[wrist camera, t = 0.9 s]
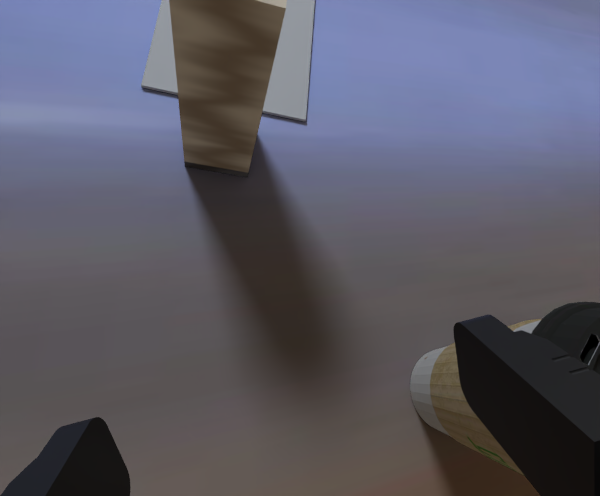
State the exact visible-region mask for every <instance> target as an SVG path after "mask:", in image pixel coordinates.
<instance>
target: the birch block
mask: <svg viewBox="0 0 600 496" xmlns="http://www.w3.org/2000/svg"><path fill="white" fill-rule="evenodd" d="M169 4H170V15H171V25H172V36H173V46H174V57H175V67H176V78H177V88H178V98H179V109H180V119H181V130H182V140H183V151H184V161H185V167H191V168H197V169H202V170H208V171H214V172H220V173H225V174H231V175H237V176H243V177H248V172H249V168H250V163H251V159H252V155H253V150H254V146H255V142H256V137H257V133H258V128H259V124H260V120H261V115H262V111H263V107H264V102H265V98H266V94H267V89H268V85H269V80H270V76H271V72H272V67H273V63H274V59H275V54H276V50H277V46H278V41H279V37H280V32H281V28H282V24H283V19H284V15H285V11H286V4H287V0H169Z"/></svg>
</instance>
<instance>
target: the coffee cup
mask: <svg viewBox="0 0 600 496" xmlns="http://www.w3.org/2000/svg"><path fill="white" fill-rule="evenodd" d="M507 327H508V328H510V329H511V330H512V331H514V332H516V331H520V330H523V331H525V332H528V333H531V334H534V335H537V336H539V337H542V338H545V339H548V340H549V341H551V342H552V343H554V344H555V345H557V346H558V347H560V348H561V349H563V350H564V351H566V352H567V353H568V354H569V355H570V357H574V358H576V359H577V360H579V361H580V362H582V363H583V364H585V365H586V366H588V369H589V370H594V371H595V372H596V373H598V374H599V375H600V303H596V302H577V303H568V304H566V305H563V306H561V307H558V308H556V309H554V310H553V311H551V312H550V313H549V314H547V315H546V316H545V317H543V318H542V319H535V320H527V321H524V322H520V323H517V324H514V325H510V326H507ZM410 392H411V397H412V401H413V404H414V406H415V409H416V410H417V412H418V414H419V415H420V417H421V418H422V419H423V420H424V421H425V422H426V423H427V424H428V425H430V426H431V427H433V428H435V429H437V430H439V431H441V432H443V433H445V434H447V435H449V436H451V437H453V438H454V439H455V440H456V441H457V442H459V443H461V444H463V445H465V446H467V447H469V448H470V449H472V450H474V451H476V452H478V453H480V454H482V455H484V456H486V457H488V458H490V459H492V460H494V461H496V462H498V463H500V464H502V465H504V466H506V467H508V468H510V469H512V470H514V471H516V472H518V473H520V474H522V475H523V476H525V475H524V474H523V473H522V472H521V470H520V469H519V468H518V467H517V465H516V464H515V463H514V462H513V460H512V459H511V458H510V457H509V455H508V454H507V453H506V452H505V450H504V449H503V448H502V447H501V445H500V444H499V443H498V442H497V440H496V439H495V438H494V437H493V435H492V434H491V433H490V432H489V430H488V429H487V428H486V427H485V425H484V424H483V423H482V422H481V420H480V419H479V418H478V417H477V416H476V414H475V413H474V412H473V410H472V409H471V408H470V406H469V404H468V403H467V401H466V399H465V396H464V394H463V391H462V388H461V385H460V379H459V371H458V363H457V355H456V347H455V343H452V344H451V345H449V346H447V347H443V348H440V349H436V350H433V351H430V352H428V353H426V354H425V355H424V356H422V357H421V358H420V359H419V361H418V362H417V363H416V365H415V367H414V369H413V372H412V375H411V381H410Z"/></svg>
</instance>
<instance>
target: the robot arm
mask: <svg viewBox="0 0 600 496" xmlns="http://www.w3.org/2000/svg"><path fill="white" fill-rule="evenodd" d="M454 339H455V347H456V355H457V363H458V371H459V379H460V385H461V388H462V391H463V394H464V396H465V399H466V401H467V403H468V404H469V406H470V408H471V409H472V410H473V412H474V413H475V414H476V416H477V417H478V418H479V419H480V420H481V422H482V423H483V424H484V425H485V427H486V428H487V429H488V430H489V432H490V433H491V434H492V435H493V437H494V438H495V439H496V440H497V442H498V443H499V444H500V445H501V447H502V448H503V449H504V450H505V452H506V453H507V454H508V455H509V457H510V458H511V459H512V460H513V462H514V463H515V464H516V465H517V467H518V468H519V469H520V470H521V472H522V473H523V474H524V475H525V477H526V478H527V479H528V480H529V482H530V483H531V484H532V485H533V487H534V488H535V489H536V490H537V492H538V493H539V494H540V495H541V496H600V375H599V374H598V373H596V372H595V371H594V370H589V369H588V366H586V365H585V364H583V363H582V362H580V361H579V360H577V359H576V358H574V357H570V355H569V354H568V353H567V352H566V351H564V350H563V349H561V348H560V347H558V346H557V345H555V344H554V343H552V342H551V341H549V340H548V339H545V338H542V337H539V336H537V335H534V334H531V333H528V332H525V331H523V330H520V331H516V332H514V331H512V330H511V329H510V328H508V327H507V326H506V325H504V324H503V323H502V322H500V321H499V320H498V319H496V318H495V317H493V316H492V315H485V316H481V317H477V318H474V319H470V320H466V321H462V322H458V323H456V324H455V326H454ZM1 496H130V478H129V473H128V470H127V468H126V466H125V463H124V461H123V459H122V457H121V455H120V452H119V450H118V448H117V446H116V444H115V442H114V439H113V437H112V435H111V433H110V431H109V428H108V426H107V424H106V423H105V421H104V420H103V419H101V418H99V417H96V418H92V419H88V420H84V421H81V422H77V423H73V424H69V425H66V426H62V427H60V428H59V429H57V431H56V432H55V433H54V434H53V436H52V437H51V439H50V440H49V442H48V443H47V445H46V446H45V447H44V449H43V450H42V452H41V453H40V455H39V456H38V457H37V459H35V460H34V461H33V462H32V463H31V464H29V465H28V466H27V467H26V468H25V469H24V470H23V471H22V472H21V473H20V474H19V475H18V476H17V477H16V478H15V479H14V480H13V481H11V482H10V483H9V485H8V486H7V488H6V489H5V490H4V492H3V493H2V494H1Z"/></svg>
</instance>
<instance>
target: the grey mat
mask: <svg viewBox="0 0 600 496" xmlns="http://www.w3.org/2000/svg"><path fill="white" fill-rule="evenodd" d="M314 5H315V0H287V4H286V11H285V15H284V19H283V24H282V28H281V32H280V37H279V41H278V46H277V50H276V54H275V59H274V63H273V67H272V72H271V76H270V80H269V85H268V89H267V94H266V98H265V102H264V107H263V111H262V113H265V114H270V115H275V116H280V117H284V118H289V119H294V120H299V121H303V122H305V121H306V111H307V98H308V85H309V71H310V58H311V45H312V31H313V18H314ZM141 86H142V88H147V89H151V90H156V91H161V92H166V93H170V94H175V95H178V88H177V78H176V67H175V57H174V46H173V36H172V25H171V15H170V4H169V0H162V2H161V6H160V10H159V14H158V18H157V22H156V26H155V30H154V35H153V39H152V43H151V47H150V51H149V55H148V59H147V63H146V67H145V72H144V76H143V80H142V84H141Z"/></svg>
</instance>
